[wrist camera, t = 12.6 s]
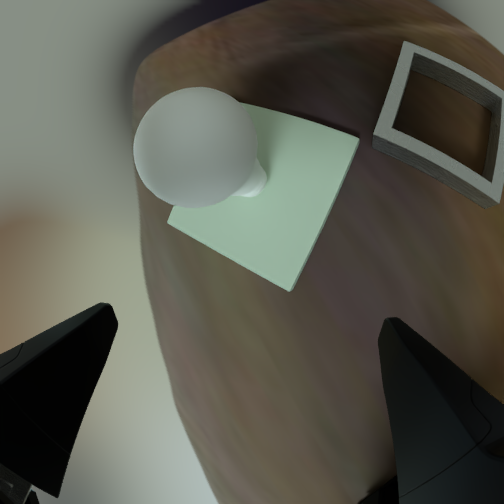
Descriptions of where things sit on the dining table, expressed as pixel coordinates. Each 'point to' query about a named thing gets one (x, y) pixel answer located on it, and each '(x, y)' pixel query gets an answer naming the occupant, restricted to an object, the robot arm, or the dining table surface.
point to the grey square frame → (428, 158)
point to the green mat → (277, 198)
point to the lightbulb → (198, 149)
